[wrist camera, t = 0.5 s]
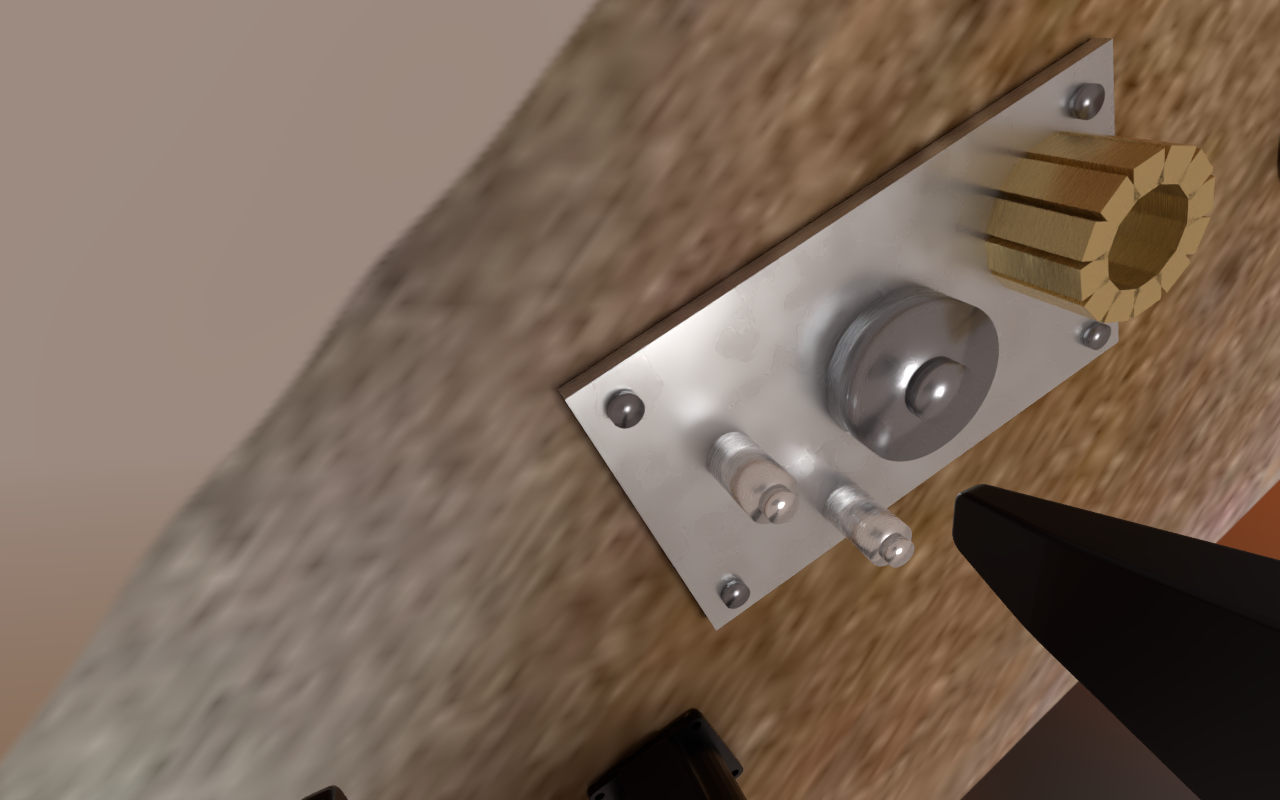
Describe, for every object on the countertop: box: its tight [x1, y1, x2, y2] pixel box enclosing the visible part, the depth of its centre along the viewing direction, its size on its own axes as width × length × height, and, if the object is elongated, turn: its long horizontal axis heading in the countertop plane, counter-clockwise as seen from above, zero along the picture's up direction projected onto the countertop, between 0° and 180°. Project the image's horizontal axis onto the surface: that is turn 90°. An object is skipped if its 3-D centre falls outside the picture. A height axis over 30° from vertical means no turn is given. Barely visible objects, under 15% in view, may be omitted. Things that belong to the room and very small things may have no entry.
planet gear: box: [985, 131, 1215, 323], centre depth 25 cm, size 6×6×4 cm
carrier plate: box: [558, 38, 1118, 630], centre depth 26 cm, size 14×23×4 cm, turn 116°
